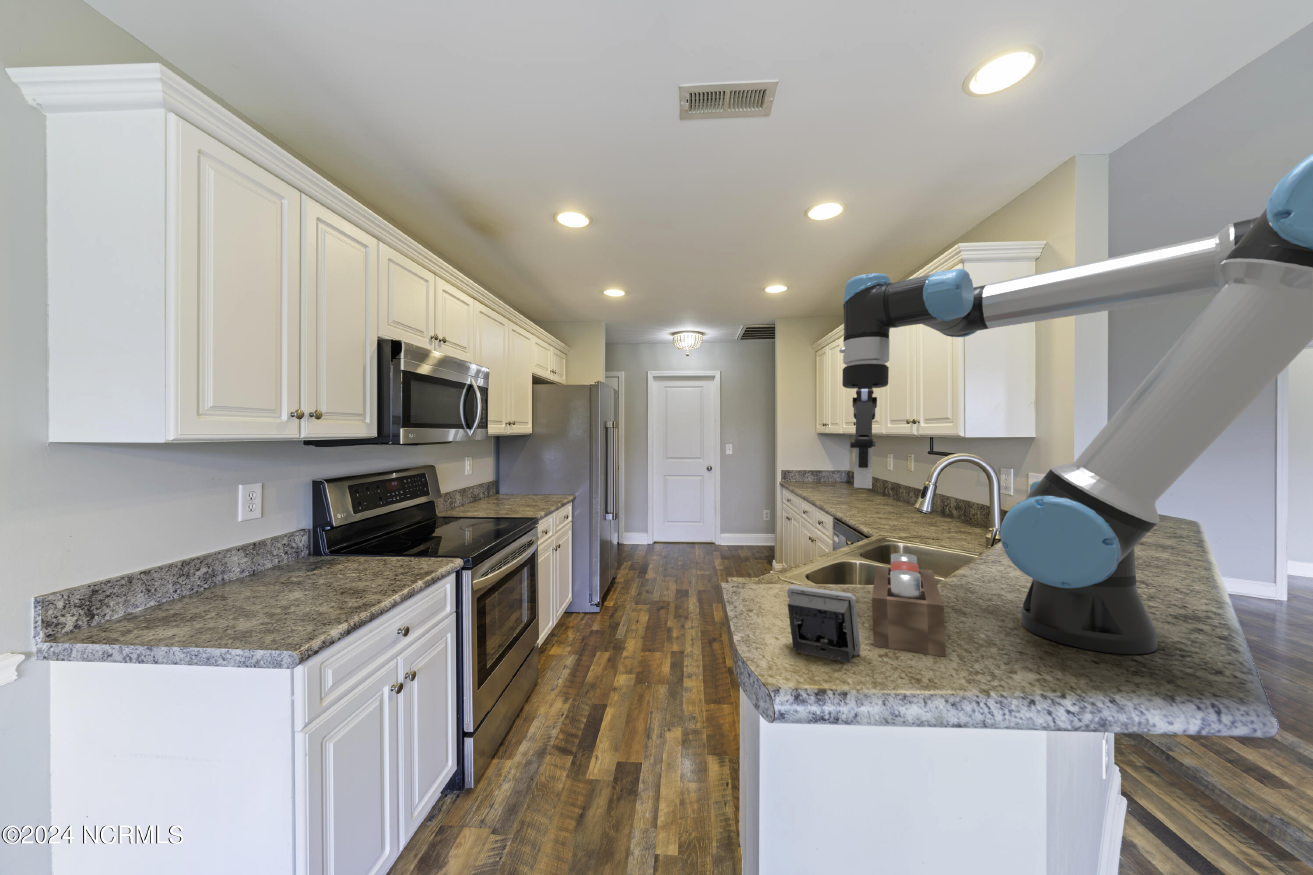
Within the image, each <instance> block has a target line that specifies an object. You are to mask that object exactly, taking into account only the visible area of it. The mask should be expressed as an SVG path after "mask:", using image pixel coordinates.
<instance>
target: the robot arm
mask: <svg viewBox="0 0 1313 875" xmlns="http://www.w3.org/2000/svg"><path fill="white" fill-rule="evenodd" d="M1213 295H1215V296H1214V297H1213V298H1212V299H1211V301H1210V302H1209V303H1208V304H1207V305H1206V307H1205V308H1204V309H1203V310H1202V311H1201V313H1199V315H1198V316H1197V317H1196V318H1195V320H1194V321H1192V323H1191V324H1190V326H1189V327H1188V328H1187V329H1186V330H1185V331H1184V333H1182V334H1181V336H1180V337H1179V338H1178V339H1177V341H1176V342H1175V343H1174V344H1173V345H1172V347H1171V348H1170V349H1168V351H1167V352H1166V354H1165V355H1164V356H1163V357H1162V358H1161V359H1160V361H1158V363H1157V364H1156V365H1155V367H1154V368H1153V369H1152V370H1151V371H1150V373H1149V374H1148V375H1147V376H1146V377H1145V379H1143V381H1142V382H1141V383H1140V384H1139V386H1137V388H1136V389H1135V390H1134V391H1133V392H1132V394H1131V395H1130V396H1129V397H1128V398H1127V400H1126V401H1125V402H1124V403H1123V404H1122V405H1121V407H1119V409H1118V410H1117V411H1116V412H1115V414H1114V415H1113V416H1112V417H1111V418H1110V420H1109V421H1107V422H1106V424H1105V425H1104V427H1103V428H1102V429H1100V431H1099V432H1098V434H1097V435H1095V437H1094V438H1093V440H1092V441H1091V442H1090V443H1089V445H1087V446H1086V448H1085V449H1084V450H1083V451H1082V453H1080V454H1079V456H1078V457H1077V458H1076V460H1075V461H1073V462H1070V463H1065V464H1057V465H1053V466H1052V467H1051V468H1050V469H1049V470H1048V472H1047V473H1046V474H1045V475H1044V476H1043V478H1041V480H1035V481H1033V482H1032V483H1031V484H1030V486H1029V492H1028V495H1027V497H1026V498H1025V499H1024V500H1021V501H1018V502H1017V504H1015V505H1012V507H1010V509H1009V510H1008V511H1007V512H1006V514H1005V515H1004V516H1005V517H1004V518H1003V521H1002V523H1001V525H1000V534H999V535H1000V542H1001V546H1002V548H1003V550H1004V553H1005V554H1006V556H1007V558H1008V559H1009V560H1010V561H1011V563H1012V564H1013V565H1014V566H1015V567H1016V568H1017V569H1018V570H1020V572H1022V573H1023V574H1025V575H1027V577H1029V578H1031V579H1032V580H1031V583H1030V585H1029V588H1028V590H1027V592H1026V593H1027V594H1026V596H1025V599H1024V601H1023V604H1022V607H1021V610H1020V611H1021V624H1022V626H1023V627H1024V629H1026V630H1027V631H1029V632H1030V633H1033V634H1034V635H1037V636H1039V637H1042V638H1045V639H1047V640H1050V641H1052V642H1056V643H1059V644H1062V645H1065V646H1066V645H1067V646H1071V647H1075V648H1079V649H1083V650H1090V651H1095V652H1102V653H1111V654H1119V655H1143V654H1144V655H1145V654H1149V653H1153V652H1155V651H1157V650H1158V633H1157V629H1156V628H1155V625H1154V624H1153V622H1152V619H1151V617H1150V615H1149V613H1148V610H1147V608H1146V606H1145V605H1144V602H1143V599H1142V598H1141V596H1140V594H1139V592H1138V588H1137V587H1138V586H1137V573H1136V572H1137V571H1136V553H1135V547H1136V546H1137V545H1138V544H1139V543H1140V541H1141V540H1143V539H1144V538H1145V537H1146V536H1147V535H1148V534H1149V533H1150V532H1151V531H1152V530H1153V529H1154V528H1155V526H1157V525H1158V524H1159V523H1160V521H1161V519H1160V516H1159V514H1158V510H1157V508H1156V502H1157V501H1158V499H1160V497H1161V496H1163V495H1164V493H1166V492H1167V491H1168V490H1169V488H1171V486H1172V485H1173V484H1175V482H1176V481H1177V480H1178V479H1179V478H1180V477H1181V476H1182V475H1183V474H1184V473H1185V472H1186V471H1187V470H1188V469H1189V468H1190V467H1191V466H1192V465H1193V464H1194V462H1196V460H1197V459H1199V458H1200V456H1202V454H1203V453H1204V452H1205V451H1206V450H1208V448H1209V447H1210V446H1211V445H1212V444H1213V443H1214V442H1215V441H1216V440H1217V439H1218V438H1219V437H1220V436H1221V435H1222V434H1223V433H1224V431H1226V430H1227V429H1228V428H1229V427H1230V426H1231V425H1232V424H1233V423H1234V422H1235V420H1236V419H1238V417H1240V415H1241V414H1242V413H1243V412H1244V411H1245V410H1246V409H1247V408H1248V407H1249V406H1250V405H1251V404H1252V403H1253V402H1254V401H1255V400H1256V399H1257V398H1258V397H1259V396H1260V395H1261V394H1262V393H1263V391H1265V389H1267V387H1268V386H1269V385H1270V384H1271V383H1272V382H1273V381H1274V380H1275V379H1276V378H1277V377H1278V376H1280V374H1281V373H1282V372H1283V371H1284V370H1285V369H1286V368H1287V367H1288V366H1289V365H1290V364H1291V363H1292V362H1293V361H1294V360H1295V359H1296V357H1298V355H1299V354H1301V352H1303V351H1304V350H1305V349H1306V347H1308V345H1309V344H1310V343H1311V342H1313V153H1311V154H1309V155H1308V156H1307V157H1305V158H1304V159H1302V160H1301V161H1300V162H1299V163H1297V164H1296V165H1295V166H1294V167H1292V168H1291V170H1290V171H1289V172H1288V173H1287V174H1285V175H1284V177H1282V179H1281V180H1279V181H1278V183H1277V184H1276V185H1275V186H1274V188H1273V190H1272V192H1271V193H1270V197H1269V198H1268V199H1267V203H1266V208H1265V209H1264V211H1263V212H1262V213H1261V214H1260V216H1257V217H1254V218H1250V219H1246V220H1242V221H1237V222H1232V223H1229V224H1227V225H1226V226H1225V227H1223V228H1222V229H1221V230H1220V231H1219V232H1218V233H1216V234H1214V235H1210V236H1209V235H1208V236H1205V237H1200V238H1195V239H1190V240H1188V241H1182V242H1178V243H1173V244H1169V245H1164V246H1159V247H1154V248H1150V249H1145V250H1142V251H1141V250H1140V251H1136V252H1131V253H1126V254H1122V255H1117V256H1112V257H1109V258H1103V259H1099V260H1094V261H1089V262H1085V263H1081V264H1076V265H1072V266H1066V267H1062V268H1056V269H1052V270H1048V271H1044V272H1039V273H1034V274H1029V275H1025V276H1020V277H1014V278H1010V279H1006V280H1002V281H998V282H997V281H996V282H991V283H988V284H984V285H979V286H975V287H974V283H973V278H971V276H970V273H969V272H968V271H967V270H966V269H964V268H955V269H949V270H947V269H946V270H939V271H935V272H933V273H930V274H929V273H928V274H925V275H921V276H916V277H913V278H908V279H905V280H901V281H896V282H891V278H890V277H889V276H888V275H887V274H885V273H880V272H879V273H877V272H875V273H867V274H865V273H864V274H861V275H857V276H853V277H852V278H850V279H849V280H848V281H847V282H846V283H845V286H844V295H843V303H842V308H843V344H842V345H843V347H840V348H839V350H838V351H839V353H840V354H843V355H842V363H843V364H844V367H843V368H842V383H841V384H842V387H843V388H845V389H852V390H853V389H854V390H855V389H856V390H855V395H856V397H853V396H852V408H853V418H854V419H855V438H853V439H854V441H850V448H851V449H854V457H853V458H854V460H853V461H854V465H853V466H854V467H853V470H854V471H853V473H854V474H853V488H858V489H872V487H873V448H876V441H874V439H873V421H874V420H875V419H876V408H877V407H878V397H877V396H873V395H874V392H875V391H874V389H880V388H882V389H883V388H885V387H887V386H888V385H889V376H890V374H889V372H890V369H889V368H890V367H889V366H888V365H887V363H889V362H890V330H891V329H895V328H896V329H898V328H902V327H907V326H908V327H909V326H914V325H915V326H916V325H917V326H918V325H923V326H924V327H928V328H930V329H932V330H935V331H937V332H939V333H940V334H942V335H944V336H946V337H950V338H965V337H966V338H967V337H970V336H971V335H973V334H975V333H977V332H978V331H984V330H989V329H995V328H1000V327H1001V328H1003V327H1009V326H1015V325H1022V324H1028V323H1029V324H1030V323H1036V322H1041V321H1047V320H1054V319H1060V318H1061V319H1062V318H1067V317H1068V318H1069V317H1074V316H1081V315H1088V314H1094V313H1095V314H1096V313H1100V312H1107V311H1114V310H1121V309H1126V308H1127V309H1128V308H1134V307H1139V306H1140V307H1141V306H1148V305H1153V304H1154V305H1155V304H1160V303H1161V304H1162V303H1166V302H1167V303H1168V302H1172V301H1180V300H1186V299H1192V298H1201V297H1205V296H1213Z"/></svg>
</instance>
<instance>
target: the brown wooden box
mask: <svg viewBox="0 0 1313 875" xmlns="http://www.w3.org/2000/svg"><path fill="white" fill-rule="evenodd" d="M890 572H891V566H887V565H886V566H885V565H876V568H875V574H874V582H873V586H872V587H873V588H872V595H871V609H872V610H871V611H872V612H871V613H872V614H871V616H872V637H873V640H872V641H873V642H872V645H873V647H878V648H884V649H890V650H897V651H904V652H911V653H917V654H923V655H930V656H936V657H941V658H946V636H945V635H946V631H945V609H944V607H945V606H944V603H943V599H942V596H941V594H940V589H939V587H938V584H937V580H936V577H935V574H934V571H933V569H924V568H923V569H921V568H919V574H920V575H921V600H916V599H907V598H898V597H891V577H890Z"/></svg>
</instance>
